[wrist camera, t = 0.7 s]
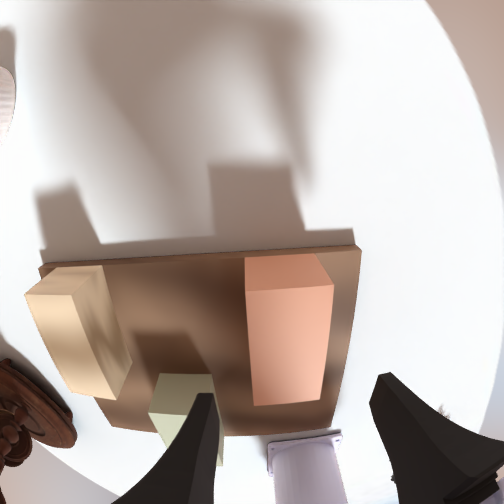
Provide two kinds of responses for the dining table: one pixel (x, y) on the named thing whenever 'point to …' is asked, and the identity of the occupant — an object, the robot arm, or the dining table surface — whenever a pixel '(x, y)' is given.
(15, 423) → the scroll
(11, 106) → the ramekin
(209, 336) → the walnut board
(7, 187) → the dining table surface
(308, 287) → the terracotta brick
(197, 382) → the sage green brick
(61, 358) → the birch brick
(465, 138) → the dining table surface
